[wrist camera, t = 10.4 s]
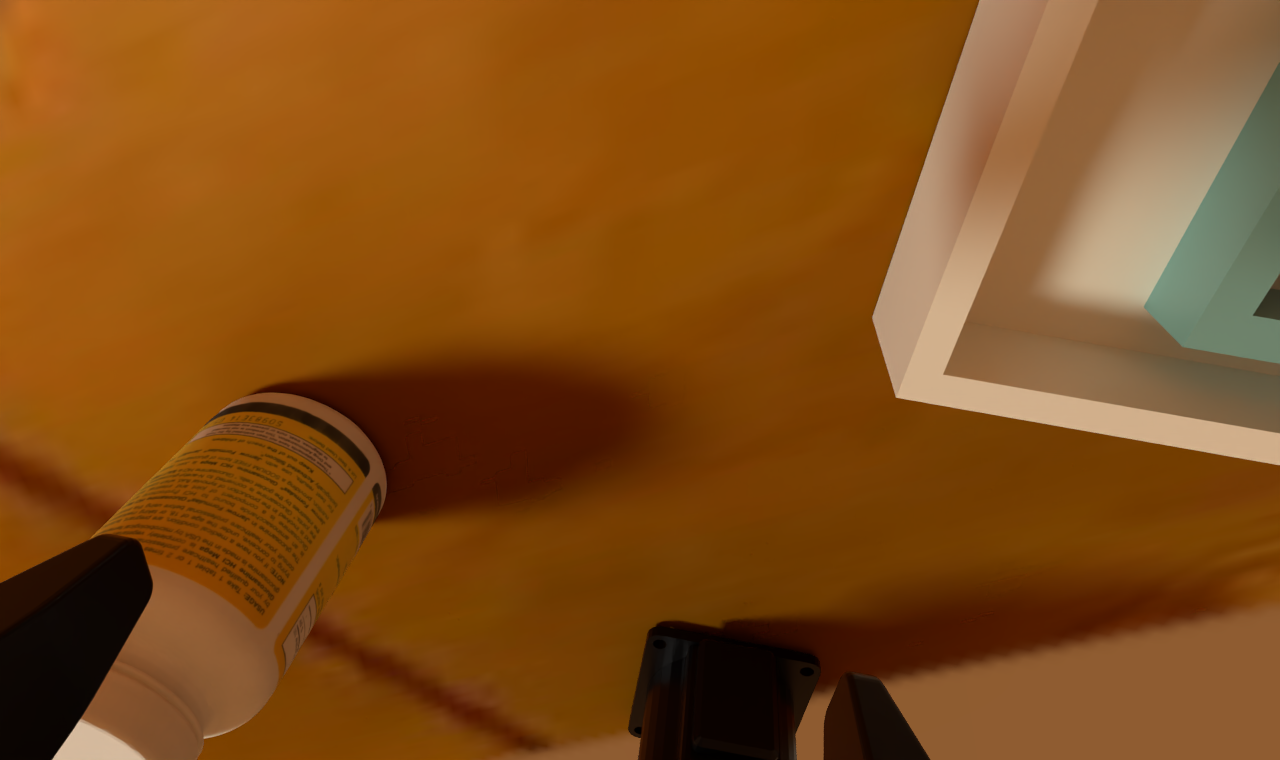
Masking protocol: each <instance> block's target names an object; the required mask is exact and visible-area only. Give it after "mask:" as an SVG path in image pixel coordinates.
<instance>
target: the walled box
mask: <svg viewBox="0 0 1280 760" xmlns="http://www.w3.org/2000/svg"><path fill="white" fill-rule="evenodd" d="M872 319H873V322H874V325H875V329H876V332H877V335H878V339H879V342H880V345H881V349H882V352H883V355H884V359H885V362H886V365H887V368H888V372H889V375H890V378H891V382H892V385H893V388H894V392H895V395H896V398H902V399H907V400H913V401H919V402H924V403H930V404H936V405H941V406H947V407H953V408H959V409H964V410H970V411H976V412H981V413H987V414H993V415H998V416H1004V417H1010V418H1015V419H1021V420H1027V421H1032V422H1038V423H1044V424H1049V425H1055V426H1061V427H1066V428H1072V429H1078V430H1083V431H1089V432H1095V433H1100V434H1106V435H1112V436H1117V437H1123V438H1129V439H1134V440H1140V441H1146V442H1152V443H1157V444H1163V445H1169V446H1174V447H1180V448H1186V449H1191V450H1197V451H1203V452H1208V453H1214V454H1220V455H1225V456H1231V457H1237V458H1242V459H1248V460H1254V461H1259V462H1265V463H1271V464H1276V465H1280V0H980V1H979V4H978V7H977V10H976V13H975V16H974V19H973V22H972V24H971V27H970V30H969V33H968V36H967V39H966V42H965V45H964V48H963V51H962V54H961V57H960V60H959V63H958V66H957V69H956V72H955V75H954V78H953V81H952V84H951V86H950V89H949V92H948V95H947V98H946V101H945V104H944V107H943V110H942V113H941V116H940V119H939V122H938V125H937V128H936V131H935V134H934V137H933V140H932V143H931V145H930V148H929V151H928V154H927V157H926V160H925V163H924V166H923V169H922V172H921V175H920V178H919V181H918V184H917V187H916V190H915V193H914V196H913V199H912V202H911V205H910V207H909V210H908V213H907V216H906V219H905V222H904V225H903V228H902V231H901V234H900V237H899V240H898V243H897V246H896V249H895V252H894V255H893V258H892V261H891V264H890V267H889V269H888V272H887V275H886V278H885V281H884V284H883V287H882V290H881V293H880V296H879V299H878V302H877V305H876V308H875V311H874V314H873V317H872Z"/></svg>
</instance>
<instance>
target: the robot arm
mask: <svg viewBox="0 0 1280 760" xmlns="http://www.w3.org/2000/svg"><path fill="white" fill-rule="evenodd" d="M152 591H153V579H152V576H151V573H150V570H149V567H148V563H147V560H146V557H145V554H144V551H143V548H142V545H141V543H140V542H139V541H138V540H137V539H135V538H131V537H125V536H120V535H115V534H102V535H98V536H96V537H93V538H91V539H89V540H87V541H85V542H83V543H81V544H79V545H77V546H75V547H73V548H71V549H69V550H67V551H65V552H63V553H61V554H59V555H57V556H55V557H53V558H51V559H49V560H47V561H44V562H42V563H40V564H38V565H36V566H34V567H32V568H30V569H28V570H26V571H24V572H22V573H20V574H18V575H16V576H14V577H12V578H10V579H8V580H6V581H4V582H2V583H0V760H52V759H53V758H54V756H55V755H56V754H57V752H58V751H59V749H60V748H61V746H62V745H63V744H64V742H65V741H66V739H67V738H68V737H69V735H70V734H71V732H72V731H73V729H74V728H75V726H76V725H77V723H78V722H79V720H80V719H81V717H82V716H83V715H84V713H85V711H86V710H87V708H88V707H89V705H90V703H91V702H92V700H93V698H94V697H95V695H96V693H97V692H98V690H99V688H100V686H101V685H102V683H103V681H104V679H105V678H106V676H107V674H108V672H109V671H110V669H111V667H112V665H113V664H114V662H115V660H116V658H117V657H118V655H119V653H120V651H121V650H122V648H123V646H124V644H125V643H126V641H127V639H128V637H129V636H130V634H131V632H132V630H133V629H134V627H135V625H136V623H137V622H138V620H139V618H140V616H141V615H142V613H143V611H144V609H145V608H146V606H147V604H148V602H149V600H150V598H151V595H152ZM820 673H821V669H820V661H819V659H818V658H817V657H815V656H813V655H810V654H806V653H800V652H795V651H790V650H784V649H779V648H774V647H768V646H763V645H758V644H752V643H747V642H742V641H736V640H731V639H725V638H720V637H715V636H709V635H704V634H699V633H693V632H688V631H683V630H677V629H672V628H666V627H653V628H652V629H650V630H649V632H648V634H647V639H646V644H645V648H644V653H643V658H642V663H641V667H640V672H639V677H638V682H637V686H636V691H635V696H634V701H633V705H632V710H631V715H630V720H629V727H628V730H629V732H630V734H631V735H633V736H635V737H638V738H641V740H640V748H639V756H638V760H797V755H796V738H795V734H796V731H797V729H798V727H799V724H800V722H801V720H802V717H803V714H804V712H805V710H806V708H807V705H808V703H809V700H810V698H811V696H812V693H813V691H814V688H815V686H816V684H817V681H818V679H819V676H820ZM824 760H930V758H929V757H928V755H927V754H926V752H925V750H924V749H923V747H922V746H921V744H920V742H919V741H918V739H917V738H916V736H915V735H914V733H913V731H912V730H911V728H910V726H909V725H908V723H907V721H906V720H905V718H904V717H903V715H902V713H901V712H900V710H899V709H898V707H897V706H896V704H895V702H894V701H893V699H892V697H891V696H890V694H889V693H888V691H887V689H886V688H885V686H884V685H883V683H882V682H881V681H880V680H879V679H878V678H877V677H875V676H872V675H867V674H861V673H856V672H846V673H844V674H843V675H842V677H841V679H840V681H839V683H838V686H837V688H836V690H835V692H834V695H833V697H832V699H831V701H830V704H829V706H828V708H827V711H826V716H825V721H824Z"/></svg>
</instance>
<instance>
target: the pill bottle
mask: <svg viewBox="0 0 1280 760" xmlns="http://www.w3.org/2000/svg"><path fill="white" fill-rule="evenodd" d="M386 490H387V481H386V473H385V469H384V466H383V463H382V460H381V458H380V456H379V454H378V452H377V450H376V449H375V447H374V445H373V444H372V442H371V441H370V440H369V438H368V437H367V436H366V435H365V434H364V432H363V431H362V430H361V429H360V428H359V427H358V426H357V425H356V424H355V423H353V422H352V421H351V420H349V419H348V418H347V417H345V416H344V415H342V414H341V413H339V412H337V411H336V410H334V409H332V408H330V407H328V406H326V405H324V404H322V403H319V402H317V401H314V400H312V399H308V398H305V397H302V396H297V395H293V394H286V393H259V394H254V395H249V396H246V397H243V398H241V399H238V400H236V401H234V402H232V403H231V404H229V405H228V406H226V407H225V408H224V409H222V410H221V411H220V412H219V413H218V414H217V415H216V416H214V417H213V418H212V419H211V420H210V421H209V422H208V423H206V424H205V426H204V427H203V428H202V429H201V430H200V431H199V432H198V433H197V434H196V435H195V436H194V437H193V438H192V439H191V440H190V441H189V442H188V443H187V444H186V445H185V446H184V447H183V448H182V449H181V450H180V451H179V452H178V453H177V454H176V455H175V456H173V457H172V458H171V459H170V460H169V461H168V462H167V463H166V464H165V465H164V466H163V467H162V468H161V469H160V470H159V471H158V472H157V473H156V474H155V475H154V476H153V477H152V478H151V479H150V480H149V481H148V482H147V483H146V484H145V485H144V486H143V487H142V488H141V489H140V490H139V491H138V492H137V493H136V494H135V495H134V496H133V497H132V498H131V499H130V500H129V501H128V502H127V503H126V504H125V505H124V506H123V507H122V508H121V509H120V510H119V511H118V512H117V513H116V514H115V515H114V516H113V517H112V518H111V519H110V520H109V521H108V522H107V523H106V524H105V525H104V526H103V527H102V528H101V529H100V530H98V531H97V532H96V533H95V534H94V535H93V536H92V537H91V538H93V537H96V536H98V535H102V534H115V535H120V536H125V537H131V538H135V539H137V540H138V541H139V542H140V543H141V545H142V548H143V551H144V554H145V557H146V560H147V563H148V567H149V570H150V573H151V576H152V579H153V591H152V595H151V598H150V600H149V602H148V604H147V606H146V608H145V609H144V611H143V613H142V615H141V616H140V618H139V620H138V622H137V623H136V625H135V627H134V629H133V630H132V632H131V634H130V636H129V637H128V639H127V641H126V643H125V644H124V646H123V648H122V650H121V651H120V653H119V655H118V657H117V658H116V660H115V662H114V664H113V665H112V667H111V669H110V671H109V672H108V674H107V676H106V678H105V679H104V681H103V683H102V685H101V686H100V688H99V690H98V692H97V693H96V695H95V697H94V698H93V700H92V702H91V703H90V705H89V707H88V708H87V710H86V711H85V713H84V715H83V716H82V717H81V719H80V720H79V722H78V723H77V725H76V726H75V728H74V729H73V731H72V732H71V734H70V735H69V737H68V738H67V739H66V741H65V742H64V744H63V745H62V746H61V748H60V749H59V751H58V752H57V754H56V755H55V756H54V758H53V759H52V760H197V757H198V756H199V754H200V753H201V751H202V749H203V744H204V738H209V737H214V736H218V735H221V734H224V733H227V732H229V731H231V730H233V729H235V728H237V727H239V726H241V725H243V724H244V723H246V722H247V721H249V720H250V719H251V718H253V717H254V716H255V715H256V714H257V713H258V712H259V711H260V710H261V709H262V708H263V706H264V705H265V704H266V703H267V701H268V700H269V698H270V697H271V695H272V694H273V692H274V691H275V689H276V688H277V686H278V685H279V683H280V681H281V679H282V678H283V676H284V674H285V673H286V671H287V669H288V668H289V666H290V664H291V663H292V661H293V659H294V657H295V656H296V654H297V652H298V650H299V649H300V647H301V645H302V644H303V642H304V640H305V639H306V637H307V635H308V634H309V632H310V631H311V629H312V627H313V625H314V624H315V622H316V620H317V619H318V617H319V615H320V614H321V612H322V611H323V609H324V607H325V605H326V604H327V602H328V600H329V599H330V597H331V596H332V594H333V592H334V590H335V589H336V587H337V585H338V584H339V582H340V580H341V578H342V577H343V575H344V574H345V572H346V570H347V568H348V567H349V565H350V564H351V562H352V560H353V558H354V557H355V555H356V553H357V552H358V550H359V548H360V546H361V544H362V543H363V541H364V539H365V537H366V536H367V534H368V532H369V531H370V529H371V527H372V526H373V524H374V522H375V520H376V518H377V517H378V515H379V513H380V511H381V509H382V507H383V504H384V501H385V497H386ZM91 538H90V539H91Z"/></svg>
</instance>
